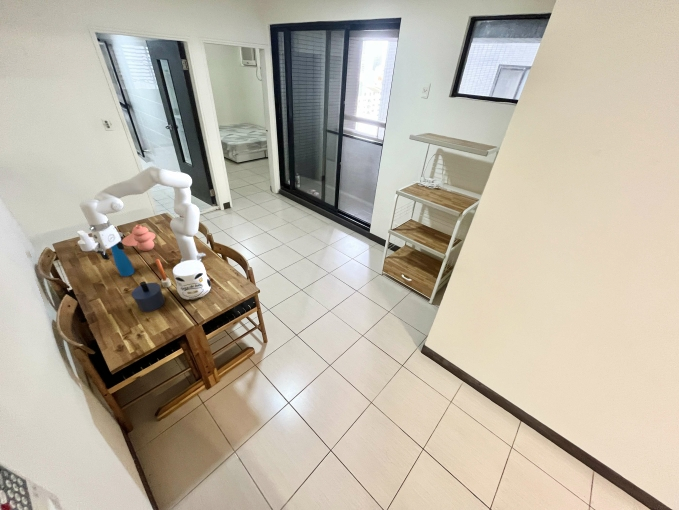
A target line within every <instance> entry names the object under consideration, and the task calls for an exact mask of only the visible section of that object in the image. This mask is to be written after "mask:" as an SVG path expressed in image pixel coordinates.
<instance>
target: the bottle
mask: <svg viewBox="0 0 679 510" xmlns="http://www.w3.org/2000/svg"><path fill="white" fill-rule="evenodd" d="M110 250H111V253H112V257H113V261H114V264H115V267H116V269H117V271H118V273H119V275H120V276H121V277H129V276H131V275H133V274H134V273H135V272H136V270H135V268H134V266H133V264H132V261H131V260H130V259H129V257H128V256H127V254H126V253H125V251H124V250H121V249H118V247H117V245H116V244H115V245H114V246H112V247H111V248H110Z"/></svg>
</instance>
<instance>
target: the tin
mask: <svg viewBox="0 0 679 510" xmlns="http://www.w3.org/2000/svg"><path fill="white" fill-rule="evenodd" d="M134 301H135V303H136V305H137V307H138V309H139V310H140V311H141V312H144V313H148V312H153V311H156V310H158V309H160V308H161V307H162V306H163V305H164V304H165V301H166V300H165V297H164V293H163V292H162V288H161V289H160V291H159V292H158V293H157V294H156V295H155V296H153V297H151V298H148V299H144V300H136V299H134Z"/></svg>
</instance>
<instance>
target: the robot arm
mask: <svg viewBox="0 0 679 510" xmlns="http://www.w3.org/2000/svg"><path fill="white" fill-rule="evenodd" d="M192 184H193V179H192V177H191V176H190V175H189V174H188V173H185V172H182V171H180V170H176V169H165V168H162V167H159V166H155V165H151V166H149V167H147V168H145V169H143V170H142V171H140V172H138V173H137V174H135V175H134V176H132V177H130V178H128V179H126V180H122V181H119V182H116V183H114V184H111V185H109V186H106V187H105V188H103V189H102V190H101V191H99V192H98V193H96V195H95V196H94V199H86V200H83V201H81V202H80V203H79V207H80V210H81V212H82V213H83V215H84V217H85V220H86V221H87V223H88V225H89V228H88V230H89V231H90V233H91V237H93V239H94V241H95V245H94V247H93V248H92V250H91V251H92V252H94V253H96V254H100V257H101V258H102V259H103V260H105V261H110V257H109V254H108V253H107V250H109V249H111V247H112V246H114V245H115V244H116V245H117V247H118V249H121V250H123V251H124V250H125V249H126V248H125V245H124V244H123V243H122V242H123V241H122V240H123V239H124V233H123V232H121V231H118V230H117V228H116V227H115V226H114V224H113V223H111V222H110V220H109V218H108V217H107V215H108V214H115V213H119V212H121V211H122V210H123V209H124V202H123V201H122V199H121V198H123V197H127V196H135V195H143V194H145V193H146V192H147V191H149V190H150V189H151V188H153V187H155V186H156V185H160V186H164V187H170V188H173V190H174V198H173V200H174V201H173V212H174V213H175V215H178V216H175V217H173V218H172V219H171V220H170V223H169V225H170V226H169V227H170V229H171V231H172V234H173V236H174V238H175V241H176V243H177V246H178V249H179V252H180V255H181V258H180V263H181V262H184V261H187V260H198V261H200V262H202V258H205V257H207V255H206V253H204V252H199V251H198V250H197V246H196V243H195V240H194V237H195V236H196V235H197V234H198V232H199V227H200V215H201V212H200V211H201V210H200V208H199V207H198V206H197V205H196V204H194V203H192V191H191V186H192Z"/></svg>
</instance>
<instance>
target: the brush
mask: <svg viewBox="0 0 679 510" xmlns="http://www.w3.org/2000/svg"><path fill="white" fill-rule="evenodd" d="M155 264H156V266H157V269H158V271H159V273H160V276H161V280H160V283H161V286H162V287H163V288H164V289H165V288H169V287H171V286H172V281H171V279H170V277H167V276H166V273H165V271H164V270H165V269H164V268H163V264H162V263H161V260H160V259H159V258H156V259H155Z"/></svg>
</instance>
